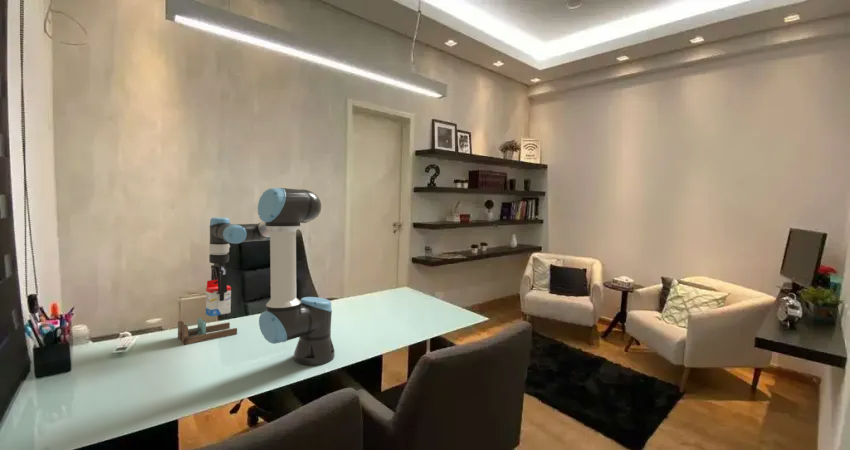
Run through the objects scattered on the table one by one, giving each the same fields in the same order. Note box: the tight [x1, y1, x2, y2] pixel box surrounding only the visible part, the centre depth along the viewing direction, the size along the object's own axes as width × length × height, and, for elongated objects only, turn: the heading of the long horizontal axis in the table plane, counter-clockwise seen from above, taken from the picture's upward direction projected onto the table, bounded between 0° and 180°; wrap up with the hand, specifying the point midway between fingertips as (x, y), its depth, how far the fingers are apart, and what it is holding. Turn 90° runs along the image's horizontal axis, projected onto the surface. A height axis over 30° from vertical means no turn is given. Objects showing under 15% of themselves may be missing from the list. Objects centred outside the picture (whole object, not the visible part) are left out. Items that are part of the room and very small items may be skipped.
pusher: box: [188, 317, 207, 335], centre depth 160 cm, size 7×7×7 cm
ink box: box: [205, 279, 232, 317], centre depth 166 cm, size 8×5×15 cm, turn 143°
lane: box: [177, 320, 238, 346], centre depth 164 cm, size 10×20×7 cm, turn 135°
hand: (218, 306), depth 166 cm, fingers closed on ink box, 5 cm apart
